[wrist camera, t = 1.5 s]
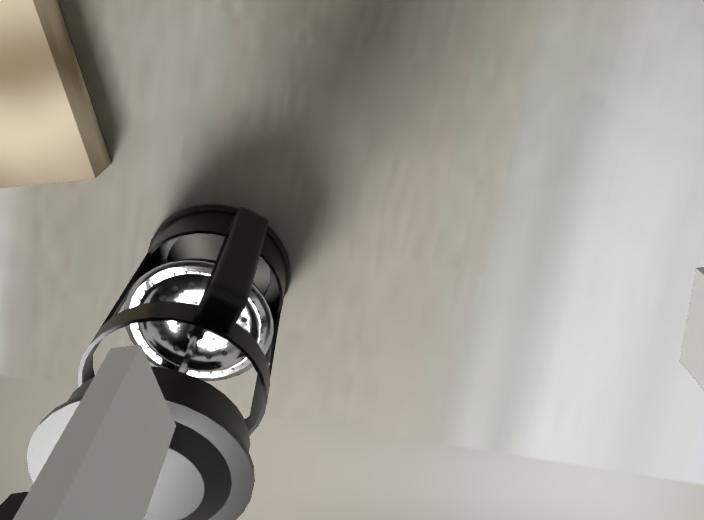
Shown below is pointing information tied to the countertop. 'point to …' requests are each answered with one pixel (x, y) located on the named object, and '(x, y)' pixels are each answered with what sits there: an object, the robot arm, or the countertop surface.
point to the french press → (196, 357)
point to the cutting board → (44, 101)
